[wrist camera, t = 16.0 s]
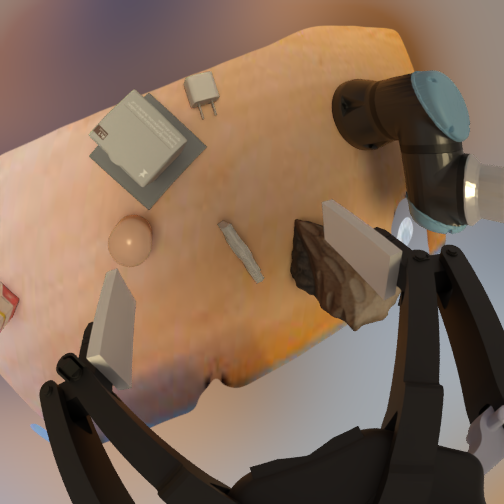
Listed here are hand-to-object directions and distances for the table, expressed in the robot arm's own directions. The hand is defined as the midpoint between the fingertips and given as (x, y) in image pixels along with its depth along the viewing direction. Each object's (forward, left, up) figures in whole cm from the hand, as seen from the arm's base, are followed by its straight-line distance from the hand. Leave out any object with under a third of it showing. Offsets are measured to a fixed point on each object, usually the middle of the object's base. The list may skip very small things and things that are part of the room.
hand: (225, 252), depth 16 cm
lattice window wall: (-12, -1, -28) cm, 30 cm away
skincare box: (+10, -2, -27) cm, 29 cm away
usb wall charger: (+10, -14, -28) cm, 32 cm away
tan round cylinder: (+3, +8, -27) cm, 29 cm away
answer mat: (+10, -3, -27) cm, 29 cm away
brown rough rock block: (-23, -11, -28) cm, 38 cm away
